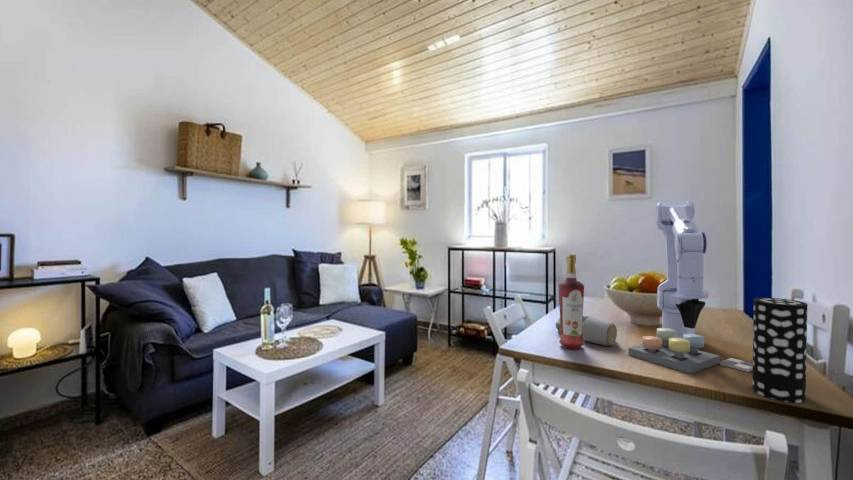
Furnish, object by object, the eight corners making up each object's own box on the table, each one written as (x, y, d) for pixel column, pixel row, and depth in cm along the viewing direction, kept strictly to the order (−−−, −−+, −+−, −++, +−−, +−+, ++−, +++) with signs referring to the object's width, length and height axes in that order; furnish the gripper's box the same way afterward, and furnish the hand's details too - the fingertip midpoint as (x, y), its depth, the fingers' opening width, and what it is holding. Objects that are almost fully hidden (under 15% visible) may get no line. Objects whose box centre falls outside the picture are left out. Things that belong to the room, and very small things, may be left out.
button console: (657, 346, 112) (657, 339, 112) (719, 363, 98) (719, 355, 98) (628, 354, 105) (628, 347, 105) (691, 373, 91) (691, 365, 91)
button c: (648, 351, 106) (648, 335, 106) (665, 356, 102) (665, 339, 102) (638, 354, 104) (638, 337, 104) (655, 359, 100) (655, 341, 100)
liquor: (563, 351, 109) (563, 255, 108) (554, 343, 116) (554, 254, 115) (588, 350, 109) (588, 255, 108) (578, 343, 116) (578, 253, 115)
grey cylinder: (608, 349, 110) (609, 323, 110) (581, 343, 116) (581, 318, 116) (622, 342, 117) (622, 317, 117) (595, 336, 123) (595, 313, 123)
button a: (662, 343, 109) (662, 327, 109) (679, 347, 105) (679, 330, 105) (653, 345, 107) (653, 329, 107) (670, 350, 103) (670, 333, 103)
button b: (688, 349, 103) (688, 332, 103) (707, 354, 99) (707, 336, 99) (679, 352, 101) (679, 335, 101) (698, 357, 97) (698, 339, 97)
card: (730, 360, 100) (730, 357, 100) (759, 367, 95) (759, 364, 95) (719, 364, 97) (719, 361, 97) (748, 372, 92) (748, 369, 92)
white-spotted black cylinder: (742, 386, 84) (743, 298, 83) (776, 384, 84) (777, 297, 84) (780, 404, 75) (782, 306, 75) (817, 401, 76) (819, 304, 75)
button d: (674, 354, 100) (674, 336, 100) (693, 359, 96) (693, 341, 96) (664, 357, 98) (665, 339, 97) (684, 362, 94) (684, 344, 93)
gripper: (691, 281, 93) (691, 335, 93) (721, 276, 100) (720, 327, 100) (662, 278, 99) (662, 328, 99) (692, 274, 106) (691, 321, 106)
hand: (689, 327), depth 100 cm, fingers closed
